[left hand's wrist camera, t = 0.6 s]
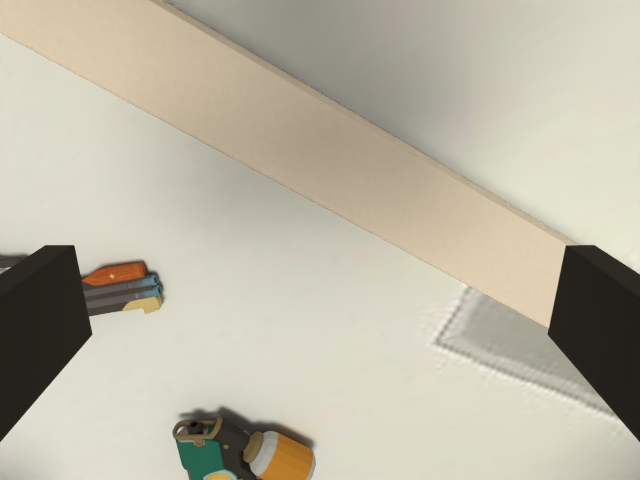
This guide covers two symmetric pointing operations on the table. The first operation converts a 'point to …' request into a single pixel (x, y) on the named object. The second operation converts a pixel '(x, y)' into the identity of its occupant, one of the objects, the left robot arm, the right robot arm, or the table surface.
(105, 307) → the toy gun
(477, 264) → the bar
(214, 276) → the table surface
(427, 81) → the table surface
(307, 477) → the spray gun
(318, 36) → the table surface
